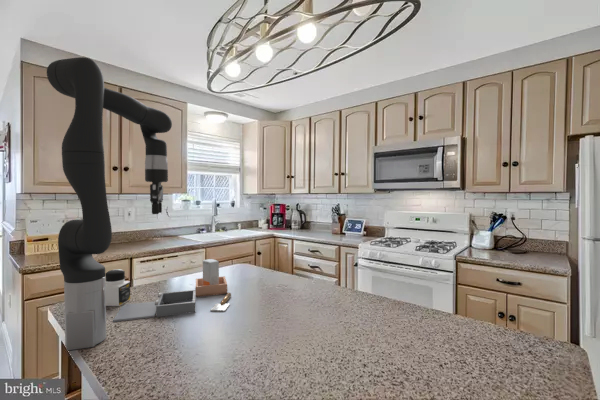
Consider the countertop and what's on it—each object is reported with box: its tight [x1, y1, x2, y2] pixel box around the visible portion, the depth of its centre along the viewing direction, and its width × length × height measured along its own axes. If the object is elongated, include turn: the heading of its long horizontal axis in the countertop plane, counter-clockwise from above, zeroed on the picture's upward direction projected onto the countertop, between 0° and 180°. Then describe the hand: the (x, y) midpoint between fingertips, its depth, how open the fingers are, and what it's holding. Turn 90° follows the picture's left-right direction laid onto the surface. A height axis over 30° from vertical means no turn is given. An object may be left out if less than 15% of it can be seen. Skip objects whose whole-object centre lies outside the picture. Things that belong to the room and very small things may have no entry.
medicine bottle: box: [105, 268, 131, 307], centre depth 113 cm, size 7×7×12 cm
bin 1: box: [112, 289, 197, 323], centre depth 107 cm, size 14×24×4 cm, turn 108°
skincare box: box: [202, 258, 220, 286], centre depth 126 cm, size 6×4×12 cm
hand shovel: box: [209, 292, 232, 313], centre depth 112 cm, size 15×5×2 cm, turn 178°
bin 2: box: [195, 276, 228, 298], centre depth 127 cm, size 12×12×4 cm
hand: (157, 213), depth 111 cm, fingers open, 8 cm apart
